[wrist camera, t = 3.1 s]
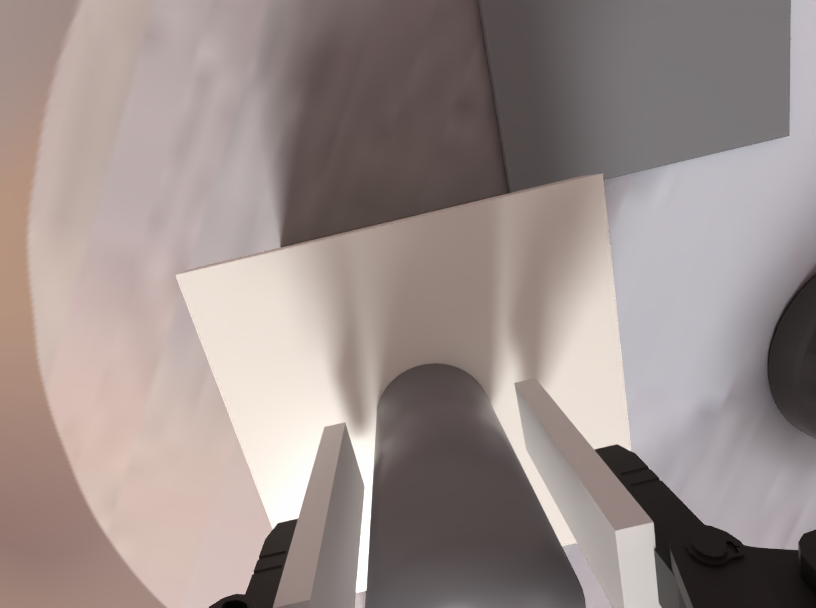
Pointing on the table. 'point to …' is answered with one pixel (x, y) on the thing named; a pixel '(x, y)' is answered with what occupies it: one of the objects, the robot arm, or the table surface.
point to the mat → (632, 82)
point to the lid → (428, 383)
